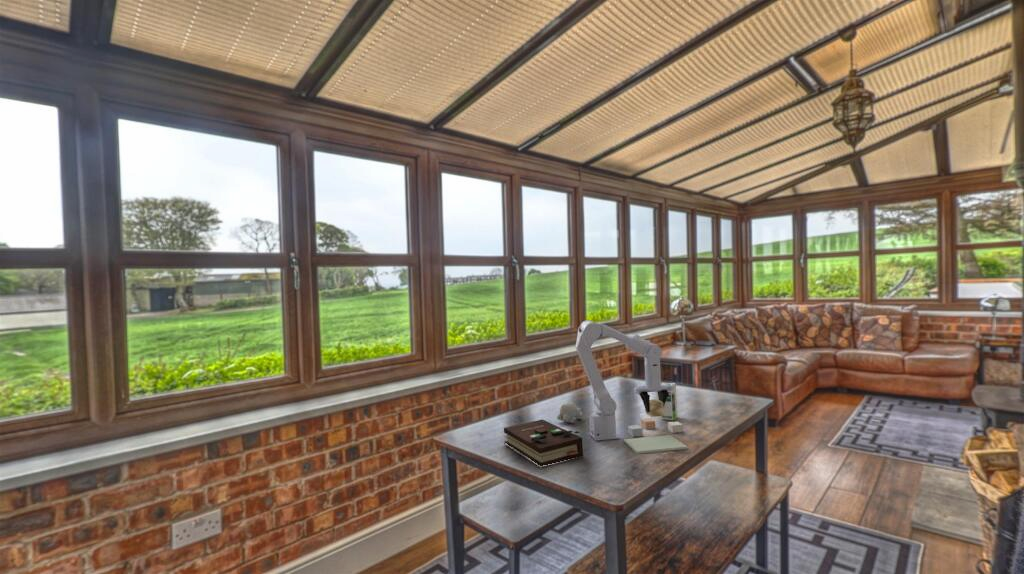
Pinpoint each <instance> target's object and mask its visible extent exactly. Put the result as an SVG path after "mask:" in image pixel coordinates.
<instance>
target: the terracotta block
mask: <svg viewBox="0 0 1024 574" xmlns="http://www.w3.org/2000/svg"><path fill="white" fill-rule="evenodd" d="M640 424H641V425H640V427H641V428H642V429H644V428H645V429H644V430H652V429H656V420H654V419H653V418H652V417H651V418H650V417H649V418H641V419H640Z"/></svg>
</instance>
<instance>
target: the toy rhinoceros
mask: <svg viewBox="0 0 1024 574" xmlns="http://www.w3.org/2000/svg"><path fill="white" fill-rule="evenodd" d="M582 415H583V412H582V407H578V406H577V405H576V404H575V403H574V402H572V401H564V402H562V403H561V405H560V407H559V413H558V414H557V416H556V419H557V420H559V421H563V422H565V421H566V422H565V423H568V424H574V419H576V420H578V419H579V420H580V419H582Z"/></svg>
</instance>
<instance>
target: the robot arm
mask: <svg viewBox="0 0 1024 574" xmlns="http://www.w3.org/2000/svg"><path fill="white" fill-rule="evenodd" d="M577 328H578V329H577V336H576V342H575V348H576V351H577V354H578V357H579V359H580V363H581V364H582V367H583V370H584V372H585V374H586V377H587V380H588V381H589V384H590V386H591V389H592V394H593V403H594V405H595V407H596V409H595V412H594V413H591V414H590V415H589V418H588V419H589V435H590V436H591V437H592V438H593V439H594V441H596V442H597V441H607V440H616V439H619V440H620V439H621V436H620V435H618V433H617V426H616V425H617V424H616V421H617V420H616V410H617V402H616V400H615V399H614V398H613V397H611V394H610V393H609V391H608V389H607V388H606V385H605V382H604V380H603V378H602V374H601V372H600V370H599V368H598V364H597V363H596V360H595V358H594V354H593V353H592V350H591V348H592V346H593V344H594V342H596V340H598V338H600V337H601V338H604V337H608V338H609V337H610V338H612V339H613V340H617V341H618V342H620V343H624V345H625V348H627V349H628V350H630V351H632V352H635V353H637V354H639V355H641V356H643V358H644V379H645V380H644V382H645V383H644V385H643V386H636V387H635V386H634V388H633V389H634V391H633V392H634V393H635V394H638V395H639V396H640V398H641V400H642V403H643V406H644V410H645V412H646V411H647V412H649V411H650V407H649V400H651V398H650V396H651V395H650V394H649V393H654V392H655V393H657V397H658V398H657V399H658V400H660V401H661V402H663V406H664V405H665V402H666V399H667V397H668V396H669V392H667V391H669V390H670V391H673V386H672V385H661V383H662V376H661V373H662V372H661V358H662V356H663V351H662V348H661V347H660V346H659V345H657V344H655V343H652V342H651V340H649V339H647V340H646V339H644V338H642V337H641V336H640V335H639V334H630V335H626V334H625V333H623V332H622V331H618V330H617V329H614V328H613V327H611V326H609V325H605V324H602V323H598V322H595V321H592V320H590V319H588V320H587V319H586V320H584V321H582V322H581V324H580V325H579V326H578V327H577Z"/></svg>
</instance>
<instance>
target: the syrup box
mask: <svg viewBox="0 0 1024 574" xmlns="http://www.w3.org/2000/svg"><path fill="white" fill-rule="evenodd" d="M661 385H672V386H673V391H670V390H669V391H667V392H669V396H668V397H667V399H666V402H665V405H664V416H660V419H661V420H666V421H673V422H676V419H677V417H678V409H677V385H676V382H662V381H661Z"/></svg>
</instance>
